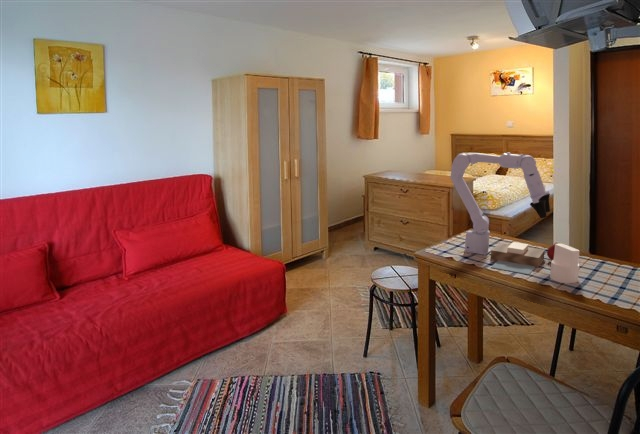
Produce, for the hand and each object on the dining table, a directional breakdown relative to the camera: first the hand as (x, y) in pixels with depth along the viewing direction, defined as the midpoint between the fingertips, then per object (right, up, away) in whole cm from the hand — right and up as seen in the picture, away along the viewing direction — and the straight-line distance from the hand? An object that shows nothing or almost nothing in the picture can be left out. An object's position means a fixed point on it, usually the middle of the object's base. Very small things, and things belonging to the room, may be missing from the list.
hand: (545, 214), depth 181 cm
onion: (+3, -19, -1) cm, 19 cm away
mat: (-16, -21, -7) cm, 27 cm away
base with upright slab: (-3, -24, -19) cm, 30 cm away
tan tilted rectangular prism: (-11, -15, +1) cm, 18 cm away
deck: (-10, -18, +2) cm, 21 cm away
